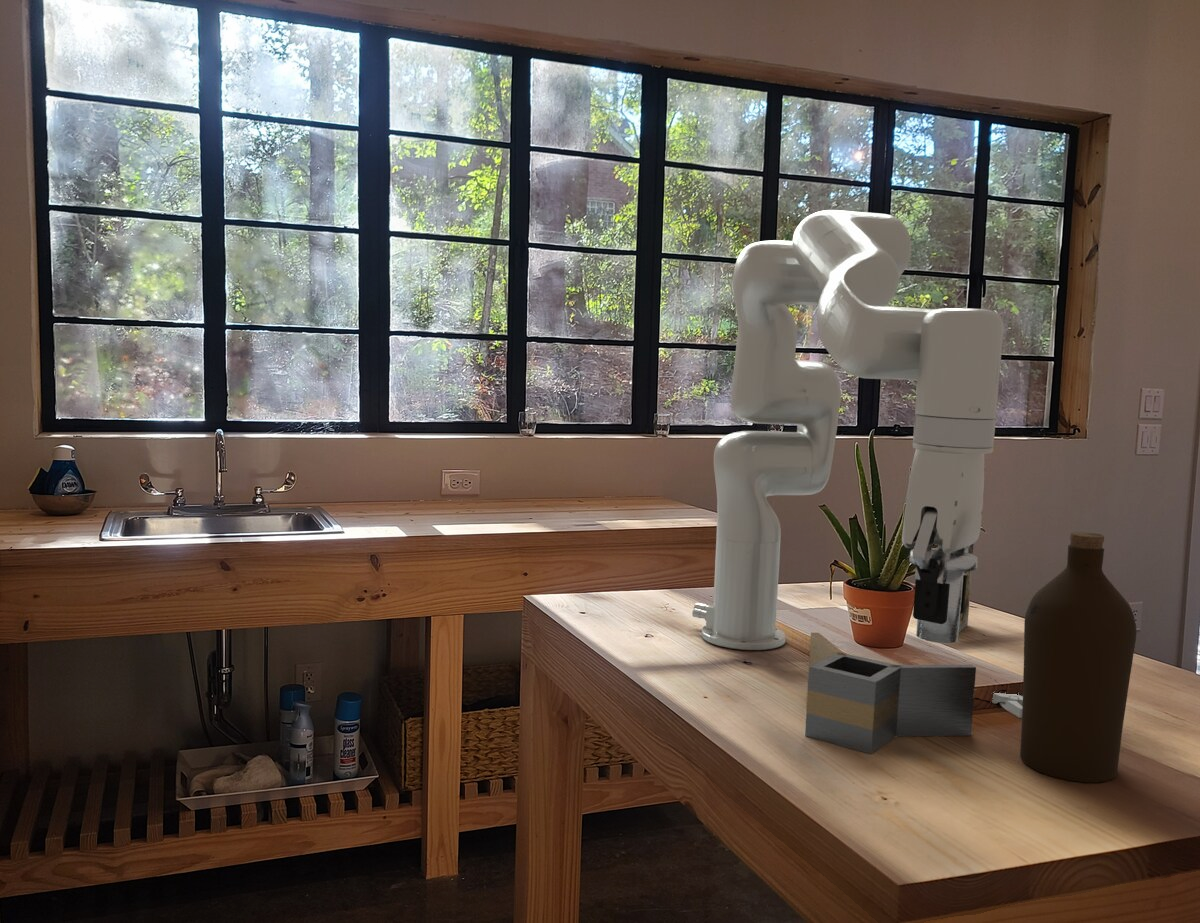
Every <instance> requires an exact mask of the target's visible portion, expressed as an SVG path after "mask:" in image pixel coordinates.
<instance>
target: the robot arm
mask: <svg viewBox="0 0 1200 923" xmlns="http://www.w3.org/2000/svg"><path fill="white" fill-rule="evenodd" d="M910 235H911V234H910V233H909V231H908V229H907V227H906V225H905V224H904V223H903V222H902V220H900V219H899V218H897V217H895V216H894V215H891V214H887V213H879V212H868V211H867V212H866V211H855V210H854V211H853V210H843V209H826V210H819V211H817V212H813V213H811V214H809V215H808V216H806V217H805V218H804V219H802V220H801V221H800V223H799V224H798V225H797V227H796V228H795V229H794V232H793V236H792V240H783V239H782V240H776V239H773V240H770V239H769V240H762V241H756V242H753V243H750V244H748V245H746V246H745V247H744V248H743V249H742V250H741V251H740V253H739V254H738V257H737V259H736V262H735V265H734V269H733V277H732V289H733V297H734V305H735V310H736V316H737V339H736V347H735V354H734V363H733V364H734V365H733V374H732V383H731V396H730V397H731V402H730V403H731V409H732V412H733V414H734V415H735V417H736V418H737V419H739V420H740V421H743V422H746V423H751V424H761V425H762V424H763V425H764V424H765V425H767V424H768V425H796V428H797V429H796V431H774V430H767V431H766V430H741V431H736V432H735V431H734V432H731V433H729V434H726V435H723V437H722V438H720V440H719V441H718V442H717V444H716V446H715V448H714V451H713V472H714V479H715V487H716V488H715V489H716V507H717V510H716V515H717V516H716V539H715V540H716V541H715V542H716V543H715V558H714V559H715V562H714V586H713V603H712V604H707V603H702V602H696V603H695V604H694V605H693V606H694V607H693V609H692V612H691V613H692V617H693V618H698V619H704V621H705V625H704V626H703V627H702V628H701V637H702V639H704V640H705V641H706V642H707V643H709V644H712V645H715V646H718V647H723V648H728V649H734V650H743V651H744V650H745V651H762V650H765V651H766V650H773V649H777V648H779V647H782V646H784V645H785V643H786V634H785V632H784V631H783V630H781V629H779V628H777V626H776V625H777V610H778V594H779V593H778V589H779V576H780V575H779V574H780V573H779V572H780V570H779V569H780V557H781V556H780V554H781V534H782V532H781V523H780V519H779V517H778V516H777V514H776V513H775V511H774V509H773V508H772V506H771V505H770V503H769V501H768V500H767V497H770V496H771V497H772V496H773V497H774V496H807V495H809V496H811V495H815V494H818V493H820V492H821V491H822V490H824V488H825V487H826V485H827V484H828V482H829V479H830V476H831V470H832V465H833V458H834V451H835V443H836V438H837V430H838V424H839V417H840V408H841V397H842V396H841V395H842V394H841V386H840V381H839V378H838V375H837V373H836V371H835V370H834V368H833V367H831V366H830V365H829V364H827V363H825V362H821V361H817V360H807V359H806V360H803V359H796V350H797V349H796V348H797V344H798V343H797V341H798V326H797V323H796V320H795V319H794V317H793V315H792V313H791V311H790V309H789V307H788V306H787V305H799V306H812V307H813V306H814V307H817V308H816V309H817V310H816V312H817V313H816V317H817V318H816V320H817V330H818V331H817V332H818V335H819V339H820V342H821V343H822V346H824V348H825V350H826V351H827V352H828V354H829V355H830V357H831V358H832V359H833V360H834V362H836V364H837V365H838V366H839V367H840V368H841V369H842V370H843V371H845V372H846V373H848V374H850V375H852V376H853V377H856V378H861V379H868V380H869V379H870V380H871V379H872V380H873V379H874V380H903V381H904V380H905V381H907V380H908V381H915V382H916V393H915V394H916V395H915V396H916V398H915V409H914V423H913V436H912V437H913V438H912V448H913V449H915V452H914V456H913V459H912V463H911V468H910V473H909V479H908V486H907V491H906V498H905V508H904V515H903V517H904V518H903V523H902V532H901V533H902V534H901V542H902V544H903V546H904V547H905V548H906V549H912V548H913V553H912V557H913V559H914V561H915V565H914V566H915V573H914V578H915V585H914V598H913V610H912V616H913V618H914V619H915V620H917V619H918V620H923V621H928V622H933V623H937V624H944V623H945V622H946V621H947V613H948V601H949V588H950V584H947V583H946V580H947V573H948V571H946V568H947V561H948V560H950V554H951V553H953V552H955V551H959V553H969V551H970V549H969V547H970V545H971V544H973V543H974V544H975V543H976V542H977V541H978V540H979V538H980V535H981V534H980V533H981V528H982V519H983V509H984V495H985V494H984V490H985V455H987V454H993V453H994V444H995V443H994V442H995V433H996V423H997V422H996V421H997V420H996V418H997V408H998V407H997V406H998V398H999V397H998V396H999V386H1000V384H999V383H1000V375H1001V363H1002V362H1001V361H1002V350H1003V339H1004V321H1003V319H1002V317H1001V315H1000V314H998V312H996V311H994V310H990V309H985V308H972V307H971V308H969V307H968V308H967V307H963V308H962V307H953V308H952V307H944V308H942V307H941V308H919V307H907V306H905V307H904V306H903V307H902V306H890V305H888V304H889V303H890V302H891V301H892V299H893V298H894V296H895V294H896V292H897V290H898V287H899V283H900V277H901V275H902V274H903V273H904V272H905V270H906V268H907V266H908V264H909V262H910V258H911V253H912V241H911V240H912V239H911V236H910ZM786 304H787V305H786ZM887 305H888V306H887ZM933 544H935V545H938V549H939V550H943V551H938V550H932V545H933ZM932 556H935V557H941V558H940V565H939V566H938V562H937V560H936V559H933V558H932ZM967 572H968V571H964V575H963V586H962V598H961V610H960V614H961V613H963V612H964V605H965V593H966V581H967V576H966V574H967Z"/></svg>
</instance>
